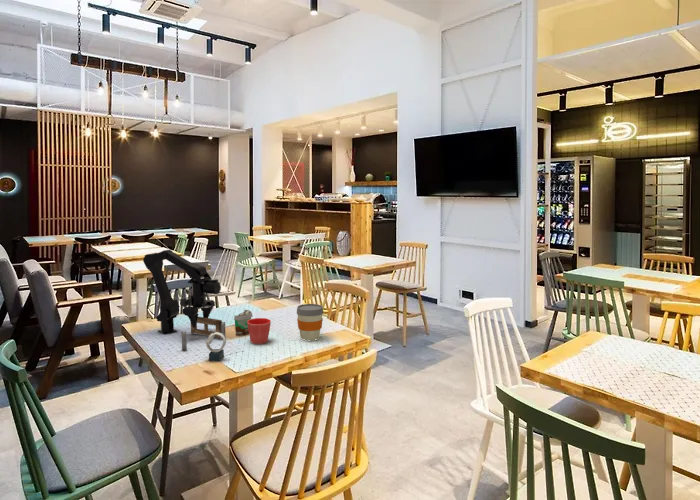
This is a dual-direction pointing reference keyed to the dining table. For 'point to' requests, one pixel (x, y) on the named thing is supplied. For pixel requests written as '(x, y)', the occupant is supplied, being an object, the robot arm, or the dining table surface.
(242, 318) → the food container
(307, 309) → the reusable coffee cup
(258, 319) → the flower pot
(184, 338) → the grey piece
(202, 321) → the wooden frame
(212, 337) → the ring on dark base
